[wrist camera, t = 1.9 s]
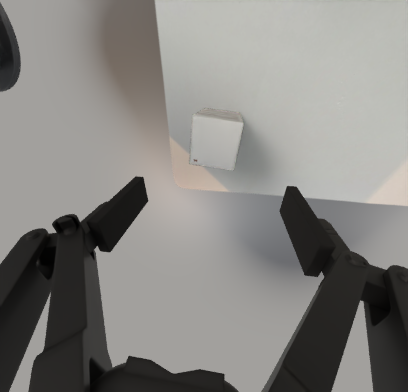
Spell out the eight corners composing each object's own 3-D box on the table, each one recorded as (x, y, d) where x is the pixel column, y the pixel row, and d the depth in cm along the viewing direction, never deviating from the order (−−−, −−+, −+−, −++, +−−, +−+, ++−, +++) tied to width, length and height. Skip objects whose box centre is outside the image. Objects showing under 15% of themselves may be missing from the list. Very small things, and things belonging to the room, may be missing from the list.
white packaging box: (233, 149, 37) (233, 173, 27) (199, 143, 38) (187, 165, 27) (241, 111, 33) (245, 122, 23) (203, 106, 34) (190, 114, 23)
